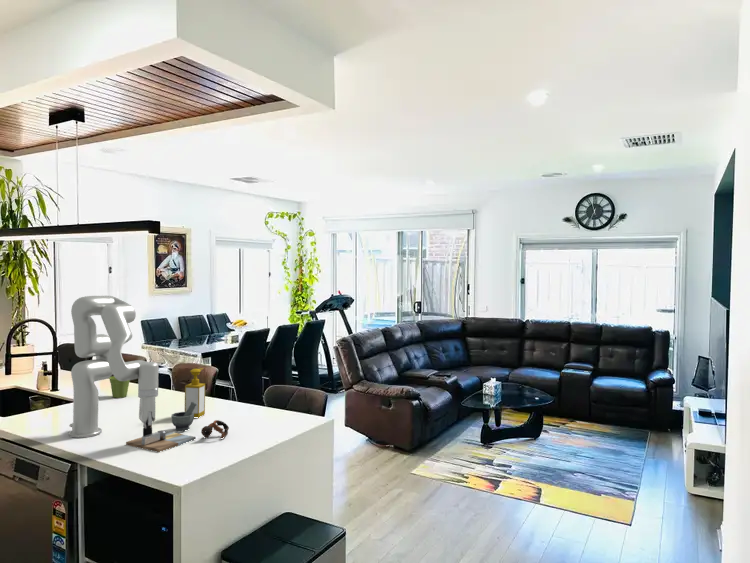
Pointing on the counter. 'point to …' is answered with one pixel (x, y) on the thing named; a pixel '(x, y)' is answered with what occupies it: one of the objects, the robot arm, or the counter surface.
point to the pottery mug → (208, 429)
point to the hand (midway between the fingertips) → (147, 437)
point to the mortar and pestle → (183, 418)
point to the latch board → (162, 442)
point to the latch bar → (154, 437)
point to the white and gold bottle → (195, 394)
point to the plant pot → (119, 387)
